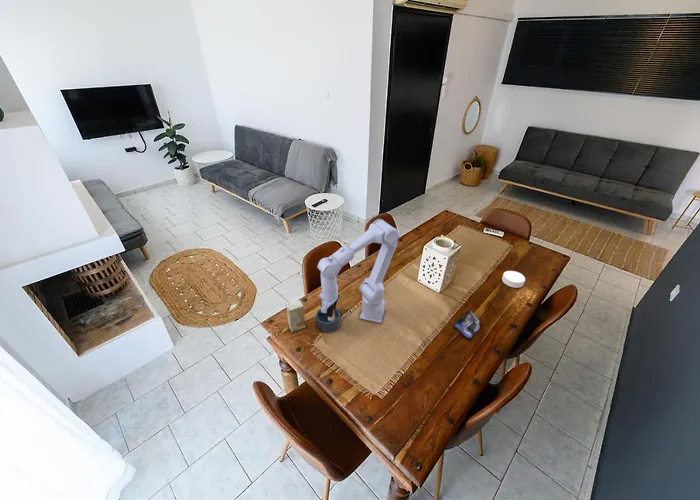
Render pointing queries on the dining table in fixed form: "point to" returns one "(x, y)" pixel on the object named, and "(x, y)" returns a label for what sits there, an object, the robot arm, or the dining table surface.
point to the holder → (327, 321)
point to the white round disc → (513, 279)
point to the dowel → (332, 316)
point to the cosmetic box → (295, 315)
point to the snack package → (467, 324)
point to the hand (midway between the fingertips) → (331, 313)
